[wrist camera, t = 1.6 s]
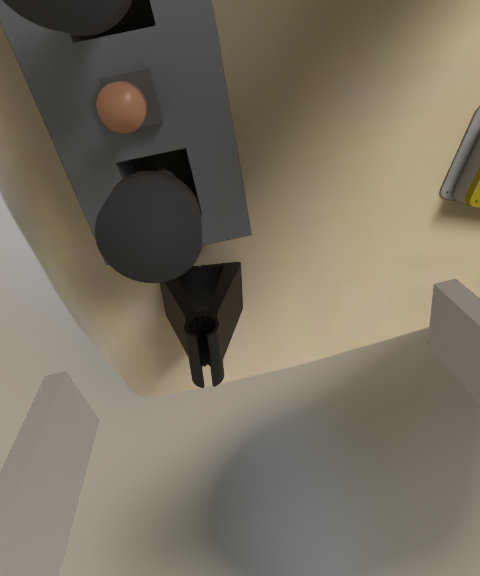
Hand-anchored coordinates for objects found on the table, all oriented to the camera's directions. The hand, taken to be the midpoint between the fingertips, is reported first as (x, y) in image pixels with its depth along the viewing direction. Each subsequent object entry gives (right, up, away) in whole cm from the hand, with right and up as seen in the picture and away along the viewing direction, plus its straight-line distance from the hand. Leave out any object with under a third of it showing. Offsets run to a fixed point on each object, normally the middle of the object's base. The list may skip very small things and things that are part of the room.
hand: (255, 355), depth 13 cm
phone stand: (-5, +2, +28) cm, 29 cm away
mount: (-8, +19, +17) cm, 27 cm away
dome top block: (-7, +15, +10) cm, 19 cm away
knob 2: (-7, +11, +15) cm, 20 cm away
